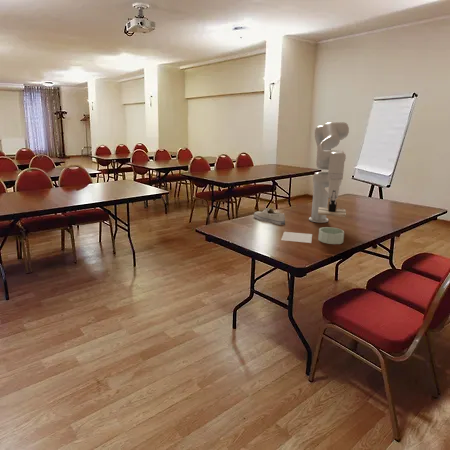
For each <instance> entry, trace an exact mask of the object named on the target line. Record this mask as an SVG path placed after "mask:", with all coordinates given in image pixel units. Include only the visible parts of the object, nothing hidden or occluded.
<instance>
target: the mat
mask: <svg viewBox="0 0 450 450" xmlns="http://www.w3.org/2000/svg"><path fill="white" fill-rule="evenodd" d="M312 238H313V233H304V232H291V231H283V234H282V236H281V239H280V240H281V241H287V242H294V243H295V242H298V243H306V244H307V243H309V244H312Z"/></svg>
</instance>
